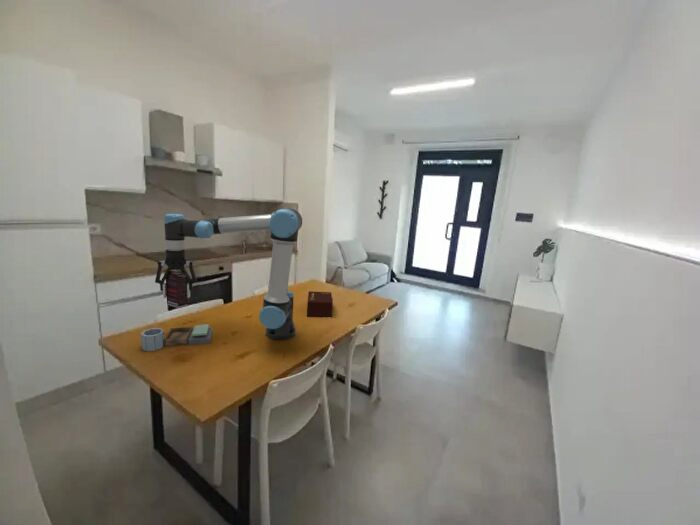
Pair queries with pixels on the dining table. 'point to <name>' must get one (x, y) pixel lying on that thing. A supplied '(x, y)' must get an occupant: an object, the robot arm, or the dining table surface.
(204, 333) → the mint green block
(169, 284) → the supplement box
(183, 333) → the brown wooden tray
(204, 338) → the blue-grey rectangular tray
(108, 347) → the dining table surface
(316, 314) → the box
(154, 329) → the cup
